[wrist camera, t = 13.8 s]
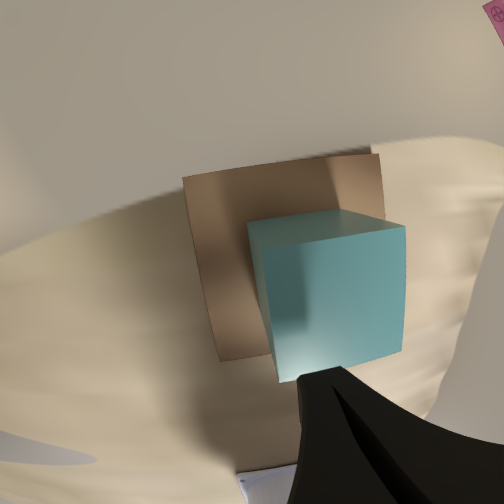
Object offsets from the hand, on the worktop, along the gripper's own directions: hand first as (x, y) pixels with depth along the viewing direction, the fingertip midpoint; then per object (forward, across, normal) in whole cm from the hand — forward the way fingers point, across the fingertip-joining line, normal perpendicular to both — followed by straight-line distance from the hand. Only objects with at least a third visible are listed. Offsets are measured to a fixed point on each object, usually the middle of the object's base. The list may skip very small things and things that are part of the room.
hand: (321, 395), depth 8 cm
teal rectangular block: (+9, -2, -2) cm, 9 cm away
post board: (+10, -2, -2) cm, 10 cm away
